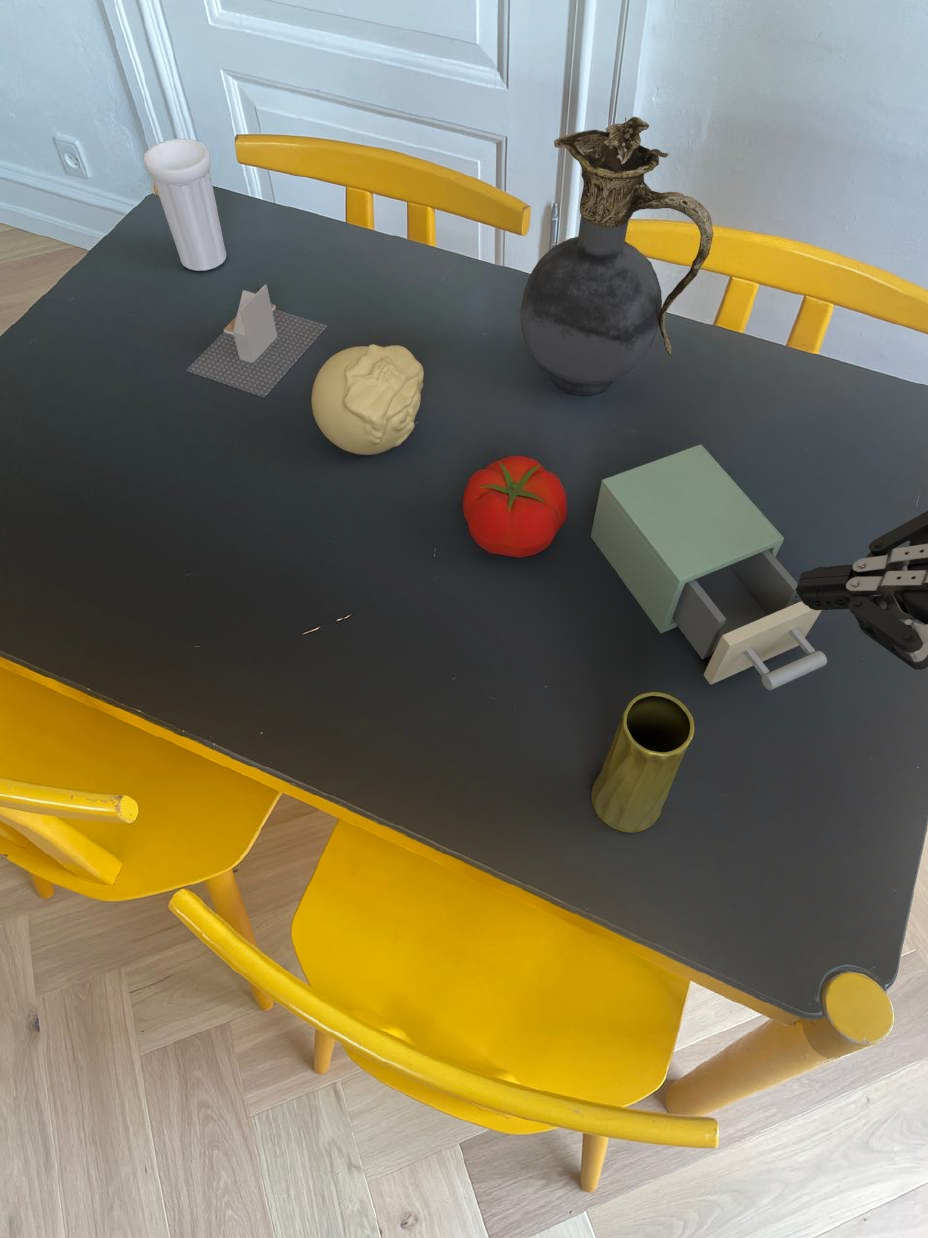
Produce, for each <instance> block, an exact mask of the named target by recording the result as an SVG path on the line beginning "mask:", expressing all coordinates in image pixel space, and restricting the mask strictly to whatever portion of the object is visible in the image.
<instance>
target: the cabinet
mask: <svg viewBox="0 0 928 1238" xmlns="http://www.w3.org/2000/svg"><path fill="white" fill-rule="evenodd" d="M590 538H591V539H592V541H593V542H594V543H595V545H596V547H598V549H599V550H600V552H601V553H602V555H603V556H604V558H606V560H607V562H608V563H609V564H610V566H611V567H612V568H613V570H614V571H615V573H616V574H617V575H618V577H619V578H620V580H621V581H622V582H623V584H624V585H625V587H626V588H627V589H628V590H629V592H630V593H631V595H632V596H633V597H634V599H635V600H636V601H637V603H638V604H639V606H640V607H641V609H642V611H643V612H645V614H646V615H647V617H648V618H649V620H650V621H651V622H652V624H653V625H654V626H655V628H656V629H657V630H658V632H659V633H660V634H663V633H665V632H668V631H670V630H674V629H675V628H679V627H678V626H677V625H676V623H675V622H674V621H673V619H672V617H673V614H674V611H675V609H676V606H677V603H678V601H679V598H680V595H681V593H682V590H683V587H684V585H685V583H687V582H689V581H692V580H694V579H697V578H699V577H701V576H704V575H706V574H709V573H711V572H714V571H716V570H719V569H721V568H724V567H726V566H729V565H731V564H733V563H736V562H738V561H741V560H743V559H746V558H748V557H751V556H753V555H756V554H758V553H760V552H763V551H765V550H769V551H770V552H771V553H772V554H773V555H774V557H775V558H777V554H778V553H779V551H780V548H781V547H782V546H783V545H782V544H783V542H784V541H785V537H784V536H783V535H782V534H781V533H780V532H779V530H778V529H777V528H776V527H775V526H774V525H773V524H772V523H771V522H770V520H769V519H768V518H767V517H766V516H765V515H764V513H762V511H761V510H760V509H759V508H758V507H757V506H756V505H755V504H754V502H753V501H752V500H751V499H750V498H749V497H748V495H747V494H746V493H745V492H744V491H743V490H742V489H741V487H739V486H738V484H737V483H736V482H735V481H734V480H733V479H732V477H731V476H730V475H729V474H728V473H727V472H726V471H725V470H724V468H723V467H722V466H721V465H720V464H719V463H718V461H716V459H715V458H714V457H713V456H712V455H711V454H710V452H708V450H707V449H706V447H704V445H702V444H697V445H695V446H692V447H689V448H686V449H683V450H681V451H678V452H675V453H673V454H671V455H667V456H665V457H661V458H659V459H656V460H654V461H650V462H648V463H644V464H642V465H640V466H637V467H633V468H631V469H629V470H625V471H622V472H620V473H618V474H617V473H616V474H614V475H612V476H609V477H606V478H603V479H602V480H601V483H600V488H599V493H598V498H597V502H596V508H595V512H594V517H593V523H592V527H591V532H590Z"/></svg>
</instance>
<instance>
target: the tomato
mask: <svg viewBox="0 0 928 1238" xmlns="http://www.w3.org/2000/svg"><path fill="white" fill-rule="evenodd" d="M462 499H463V501H462V511H463V516H464V518H465V520H466V522H467V525H468V532H469V534H470V536H471V537H472V539H473V540H474V542H475V543H476V544H477V546H479V547H481V548H482V549H483V550H485V551H486V552H488V553H489V554H494V555H500V556H507V557H512V558H516V559H517V558H518V559H522V558H525V557H531V556H535V555H536V554H538V553H540V552H542V551H544V550H546V549H547V548H548V547H549V546H550V545H551V544H552V542H553V540H554V537H556V535H557V533H558V532H559V530H560V529H561V528H562V527H563V525H564V524H565V523H566V519H567V517H568V501H567V493H566V491H565V489H564V487H563V485H562V483H561V480H560V479H559V477H558V476H557V475H556V474H554V473H553V472H552V471H549V470H546V469H545V468H544V467H543V466H542V464H541V463H540V462H539V461H538V460H536V459H533V458H530V457H527V456H524V455H514V456H513V455H512V456H507V457H504V458H501V459H498V460H496V461H493V462H492V463H491V464H489V465H488V466H487V467H486V468H484V469H480V470H478V471H476V472H473V474H472V475H471V477H470V478H469V479H468V482H467V485H466V486H465V489H464V493H463V498H462Z"/></svg>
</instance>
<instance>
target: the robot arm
mask: <svg viewBox="0 0 928 1238" xmlns="http://www.w3.org/2000/svg"><path fill="white" fill-rule="evenodd" d="M907 542H909V543H908V546H903V547H900V546H901V545H903V544H904V543H907ZM868 549H869V552H868V554H867V555H866V556H865V557H864V558H863V557H862V558H859V559H857V560H855V562H853V563H852V564H839V565H829V566H818V567H815V568H813V569H811V570H806V571H803V572H802V573H801V574H800V577H799V580H798V581H797V583H798V585H797V587H796V592H797V596H798V597H799V598H800V600H801V601H802V602H803V603H804V604H805V605H806V606H808V607H809V608H810V609H813V610H822V611H833V610H834V611H835V610H849V611H850V613H851V614H852V615H853V616H854V618H855V620H856V621H857V624H858V627H859V629H860V630H861V632H862V634H865V635H866V636H867V637H868V638H870V639H871V640H873V641H874V642H875V643H877V644H878V645H880V646H881V647H882V648H884V649H885V650H887V651H888V652H890V653H891V654H892V655H894V656H895V657H896V658H898V659H899V660H901V661H902V662H903V663H905V664H906V665H908V666H909V667H911V668H912V669H913V670H917V671H920V670H925V669H927V668H928V510H926V511H924V512H922V513H921V514H919V515H917V516H915V517H913V518H912V519H910V520H908V521H906V522H904V523H903V524H901V525H898V526H897V527H895V528H893V529H892V530H890V531H888V532H886V533H885V534H882V535H881V536H879V537H877V538H875V539H873V540H871V542H870V543H869V545H868ZM902 620H904V621H902ZM917 621H919V622H917Z"/></svg>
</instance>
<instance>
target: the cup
mask: <svg viewBox="0 0 928 1238" xmlns="http://www.w3.org/2000/svg"><path fill="white" fill-rule="evenodd" d="M211 161H212V159H211V151H210V150H209V149H208V148H207V146H206V145H205V144H204V143H202V142H200V141H198V140H197V139H196V140H195V139H189V138H171V139H167V140H163V141H160V142H157V143H156V144H154V145H152V146H150V147H149V149H148V150H147V151H145V152H144V158H143V164H144V166H145V168H146V171H147V172H148V174H149V176H151V178H152V180H153V183H154V185H155V188H156V191H157V194H158V197H159V200H160V203H161V206H162V209H163V212H164V215H165V218H166V221H167V224H168V227H169V230H170V233H171V236H172V238H173V242H174V245H175V247H176V250H177V251H176V252H177V253H178V257H179V261H180V264H181V265H182V266H183V267H184V268H187V269H188V270H192V271H197V272H199V271H202V272H203V271H209V270H212V269H216V268H217V267H220V265H222V264H223V263H224V262H225V261H226V259H227V251H226V245H225V241H224V237H223V232H222V227H221V226H222V225H221V221H220V217H219V212H218V207H217V201H216V197H215V190H214V186H213V181H212V176H211V171H210V170H211V164H212V162H211Z"/></svg>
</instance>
